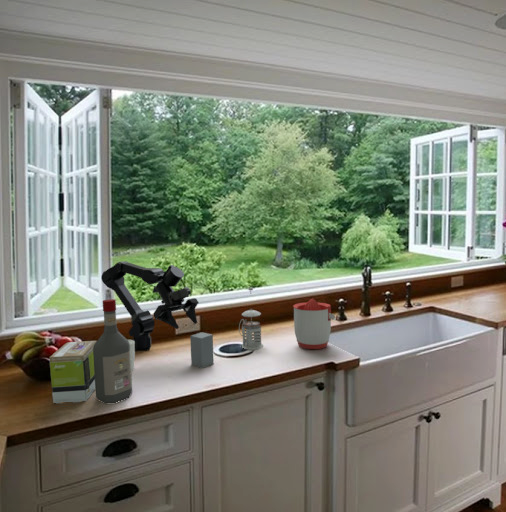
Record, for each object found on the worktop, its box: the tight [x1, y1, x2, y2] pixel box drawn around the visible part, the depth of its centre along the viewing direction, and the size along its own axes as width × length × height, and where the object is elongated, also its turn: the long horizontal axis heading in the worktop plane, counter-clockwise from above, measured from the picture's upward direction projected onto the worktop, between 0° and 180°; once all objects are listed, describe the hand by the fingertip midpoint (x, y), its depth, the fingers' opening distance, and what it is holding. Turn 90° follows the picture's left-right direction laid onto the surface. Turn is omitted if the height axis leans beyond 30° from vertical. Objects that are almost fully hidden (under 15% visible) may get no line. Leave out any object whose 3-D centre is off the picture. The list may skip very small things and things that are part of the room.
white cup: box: [127, 339, 136, 372], centre depth 151 cm, size 8×8×10 cm
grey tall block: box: [189, 331, 215, 369], centre depth 154 cm, size 6×6×11 cm
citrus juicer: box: [292, 298, 337, 350], centre depth 173 cm, size 16×17×20 cm
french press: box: [238, 286, 265, 350], centre depth 174 cm, size 10×12×25 cm
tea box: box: [49, 340, 97, 404], centre depth 131 cm, size 15×10×15 cm, turn 5°
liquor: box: [93, 298, 133, 404], centre depth 126 cm, size 9×9×30 cm
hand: (187, 325), depth 159 cm, fingers open, 9 cm apart
